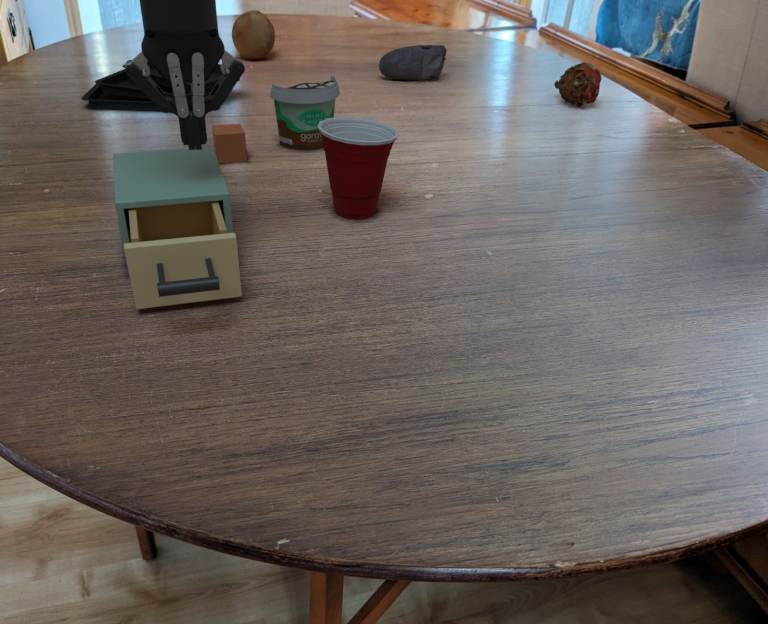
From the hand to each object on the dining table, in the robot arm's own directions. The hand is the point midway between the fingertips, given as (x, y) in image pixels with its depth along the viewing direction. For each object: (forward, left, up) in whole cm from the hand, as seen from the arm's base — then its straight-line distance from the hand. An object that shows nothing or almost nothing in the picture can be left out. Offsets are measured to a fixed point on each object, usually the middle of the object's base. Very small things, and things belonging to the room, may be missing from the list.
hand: (194, 147), depth 83 cm
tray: (+30, +59, -14) cm, 68 cm away
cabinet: (-1, +5, -13) cm, 14 cm away
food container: (+35, +21, -14) cm, 43 cm away
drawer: (-7, -6, -12) cm, 16 cm away
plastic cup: (+23, -3, -14) cm, 27 cm away
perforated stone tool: (+78, +39, -14) cm, 88 cm away
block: (+21, +25, -13) cm, 35 cm away
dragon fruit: (+93, +7, -14) cm, 94 cm away
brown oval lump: (+61, +73, -14) cm, 96 cm away
